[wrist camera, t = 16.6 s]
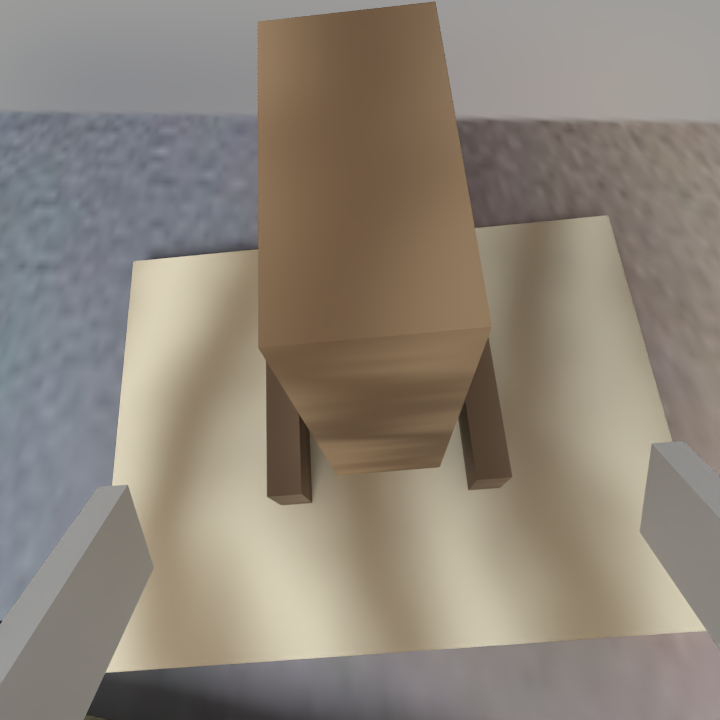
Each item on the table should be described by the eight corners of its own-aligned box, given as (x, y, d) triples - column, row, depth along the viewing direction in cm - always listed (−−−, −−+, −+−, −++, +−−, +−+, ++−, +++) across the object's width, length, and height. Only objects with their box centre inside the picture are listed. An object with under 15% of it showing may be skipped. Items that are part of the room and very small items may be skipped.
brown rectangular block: (417, 286, 24) (435, 1, 12) (439, 467, 21) (491, 326, 9) (327, 295, 24) (257, 21, 12) (337, 475, 22) (258, 347, 9)
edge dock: (599, 230, 26) (629, 178, 23) (707, 626, 20) (771, 636, 16) (144, 274, 27) (107, 230, 24) (110, 668, 21) (53, 686, 17)
